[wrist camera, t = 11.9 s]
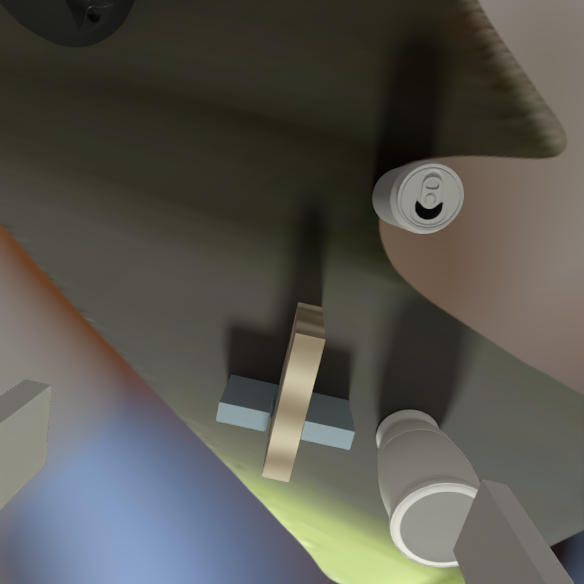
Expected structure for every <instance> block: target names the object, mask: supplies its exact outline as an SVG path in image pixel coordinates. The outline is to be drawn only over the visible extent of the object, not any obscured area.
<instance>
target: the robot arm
mask: <svg viewBox="0 0 584 584" xmlns="http://www.w3.org/2000/svg"><path fill="white" fill-rule="evenodd" d="M133 2H134V0H0V4H1V5H2V6H3V7H4V9H5V10H6V11H7V12H8V13H9V14H10V15H11V16H12V17H13V18H14V19H15V20H17V21H18V22H19V23H20V24H22V25H23V26H24V27H26V28H27V29H29V30H30V31H32V32H34V33H35V34H37V35H39V36H41V37H42V38H44V39H46V40H48V41H50V42H53V43H56V44H59V45H63V46H70V47H81V46H88V45H92V44H95V43H97V42H100V41H102V40H104V39H105V38H107V37H108V36H110V35H111V34H112V33H114V32H115V31H116V30H117V29H118V28H119V26H120V25H121V24H122V23H123V21H124V20H125V19H126V17H127V15H128V13H129V12H130V9H131V7H132V5H133ZM50 394H51V385H48V384H44V383H39V382H35V381H30V380H24V381H22V382H21V383H19V384H18V385H16V386H15V387H13V388H12V389H10V390H9V391H7V392H6V393H4V394H3V395H1V396H0V510H1V509H2V508H3V507H4V506H5V505H6V504H7V503H8V502H9V501H10V499H11V498H12V497H13V496H14V495H15V494H16V493H17V492H18V491H19V490H20V489H21V488H22V487H23V486H24V485H25V484H26V483H27V482H28V481H29V480H30V479H31V478H32V477H33V476H34V475H35V474H36V473H37V472H38V471H39V470H40V468H41V467H42V466H43V465H44V464H45V463H46V453H47V438H48V423H49V408H50ZM453 552H454V555H455V557H456V560H457V562H458V565H459V567H460V570H461V572H462V575H463V577H464V580H465V582H466V584H574V582H573V581H572V580H571V578H570V577H569V575H568V574H567V572H566V571H565V569H564V568H563V566H562V565H561V563H560V562H559V560H558V559H557V558H556V556H555V555H554V553H553V552H552V550H551V549H550V547H549V546H548V544H547V543H546V541H545V540H544V538H543V537H542V536H541V534H540V533H539V531H538V530H537V528H536V527H535V525H534V524H533V522H532V521H531V519H530V518H529V516H528V515H527V514H526V512H525V511H524V509H523V508H522V506H521V505H520V503H519V502H518V500H517V499H516V497H515V496H514V494H513V493H512V491H511V490H510V489H509V487H508V486H507V485H506V484H501V483H497V482H492V481H488V480H483V479H482V481H481V484H480V486H479V488H478V491H477V493H476V496H475V498H474V500H473V503H472V505H471V508H470V510H469V512H468V515H467V517H466V520H465V522H464V525H463V527H462V529H461V532H460V534H459V537H458V539H457V541H456V544H455V546H454V549H453Z"/></svg>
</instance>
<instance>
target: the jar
mask: <svg viewBox="0 0 584 584" xmlns="http://www.w3.org/2000/svg"><path fill="white" fill-rule="evenodd" d="M376 443H377V446H378V480H379V487H380V492H381V496H382V499H383V502H384V505H385V508H386V510H387V513H388V515H389V517H390V519H389V526H390V532H391V537H392V540H393V542H394V544H395V546H396V547H397V549H398V550H399V551H400V552H401V553H402V554H403V555H404V556H405V557H407V558H408V559H410V560H411V561H413V562H415V563H418V564H421V565H424V566H428V567H435V568H448V567H455V566H459V565H458V562H457V560H456V557H455V555H454V552H453V549H454V546H455V544H456V541H457V539H458V537H459V534H460V532H461V529H462V527H463V525H464V522H465V520H466V517H467V515H468V512H469V510H470V508H471V505H472V503H473V500H474V498H475V496H476V493H477V491H478V488H479V486H480V483H479V480H478V478H477V476H476V474H475V472H474V470H473V468H472V466H471V464H470V463H469V461H468V460H467V458H466V457H465V456H464V454H463V453H462V452H461V451H460V449H459V448H458V447H457V446H456V445H455V444H454V443H453V442H452V441H451V440H450V438H449V437H448V436H447V435H446V434H445V433H444V432H443V431H441V430H440V429H439V427H438V425H437V423H436V422H435V420H434V419H433V418H432V417H431V416H429V415H428V414H426V413H424V412H421V411H418V410H401V411H397V412H395V413H393V414H391V415H389V416H388V417H386V418H385V419H384V420H383V421H382V423H381V424H380V425H379V427H378V430H377V433H376Z"/></svg>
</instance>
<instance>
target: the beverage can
mask: <svg viewBox="0 0 584 584" xmlns="http://www.w3.org/2000/svg"><path fill="white" fill-rule="evenodd" d="M463 199H464V190H463V185H462V183H461V180H460V178H459V177H458V175H457V174H456V173H455V172H454V170H453V169H452V168H450V167H449V166H448V165H446V164H444V163H442V162H439V161H433V160H424V161H420V162H416V163H413V164H409V165H406V166H402V167H399V168H395V169H392V170H390V171H388V172H387V173H385V174H384V175H383V176H382V177H381V178H380V179H379V180H378V182H377V183H376V185H375V188H374V191H373V196H372V201H373V206H374V209H375V211H376V213H377V214H378V216H379V217H380V218H381V219H382V220H384V221H385V222H387V223H389V224H392V225H395V226H397V227H400V228H403V229H406V230H409V231H411V232H414V233H420V234H426V233H432V232H436V231H438V230H440V229H442V228H443V227H445V226H447V225H448V224H449V223H450V222H451V221H452V220H453V219H454V218H455V217H456V216H457V214H458V213H459V211H460V209H461V207H462V203H463Z"/></svg>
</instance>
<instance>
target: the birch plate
mask: <svg viewBox="0 0 584 584" xmlns="http://www.w3.org/2000/svg"><path fill="white" fill-rule="evenodd" d="M325 340H326V338H325V330H324V322H323V314H322V307H318V306H314V305H309V304H305V303H300V302H298V305H297V310H296V314H295V318H294V322H293V327H292V331H291V335H290V340H289V344H288V348H287V352H286V357H285V361H284V365H283V370H282V374H281V378H280V383H279V390H278V397H277V401H276V405H275V410H274V414H273V416H272V417H271V422H270V428H269V434H268V441H267V447H266V453H265V459H264V466H263V472H262V477H267V478H271V479H276V480H281V481H285V482H289V479H290V475H291V472H292V468H293V464H294V460H295V456H296V452H297V448H298V445H299V441H300V437H301V433H302V429H303V425H304V421H305V418H306V414H307V410H308V406H309V402H310V398H311V394H312V391H313V387H314V383H315V379H316V375H317V371H318V367H319V364H320V360H321V356H322V352H323V348H324V344H325Z"/></svg>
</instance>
